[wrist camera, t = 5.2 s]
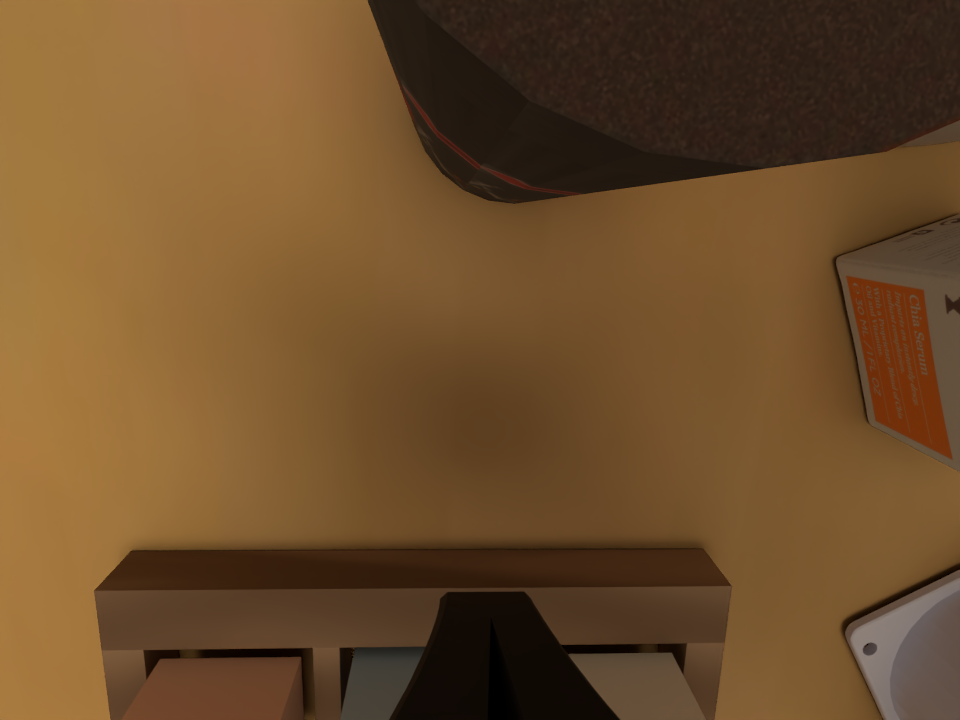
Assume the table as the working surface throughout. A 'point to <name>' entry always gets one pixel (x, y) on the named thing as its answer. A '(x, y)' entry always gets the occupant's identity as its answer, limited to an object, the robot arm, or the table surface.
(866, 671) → the robot arm
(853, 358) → the table surface
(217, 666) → the terracotta key
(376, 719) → the slate blue key
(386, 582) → the socket board
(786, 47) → the deodorant
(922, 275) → the skincare box
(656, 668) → the cream key
